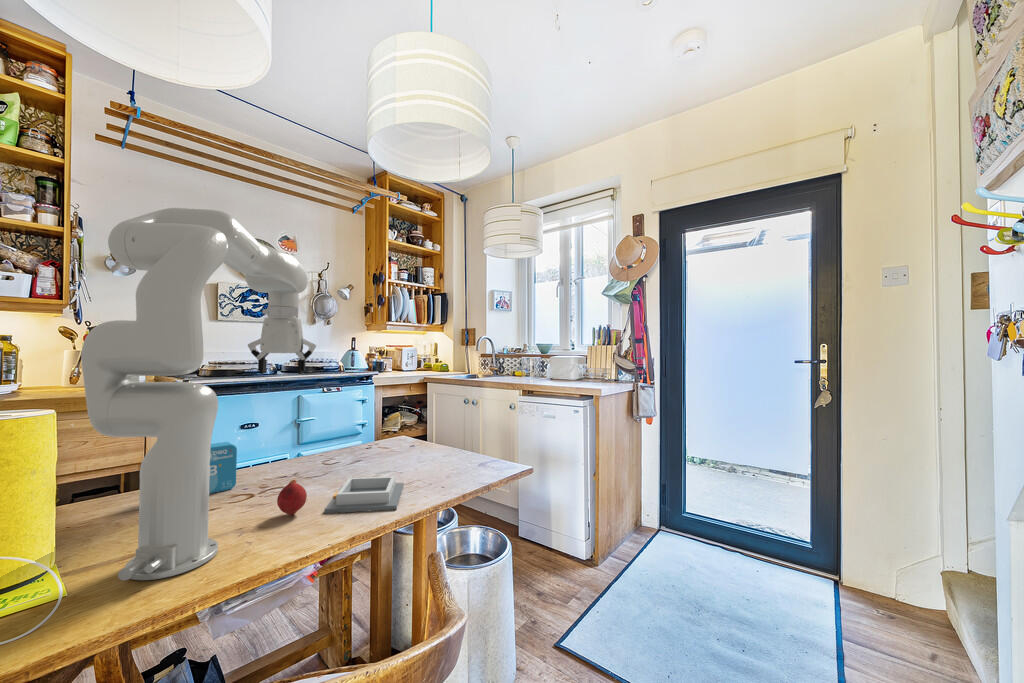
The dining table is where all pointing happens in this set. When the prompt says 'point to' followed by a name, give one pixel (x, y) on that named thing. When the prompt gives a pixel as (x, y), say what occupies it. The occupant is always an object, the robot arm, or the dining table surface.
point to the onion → (291, 498)
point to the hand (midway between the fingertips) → (282, 373)
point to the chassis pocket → (366, 495)
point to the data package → (222, 467)
